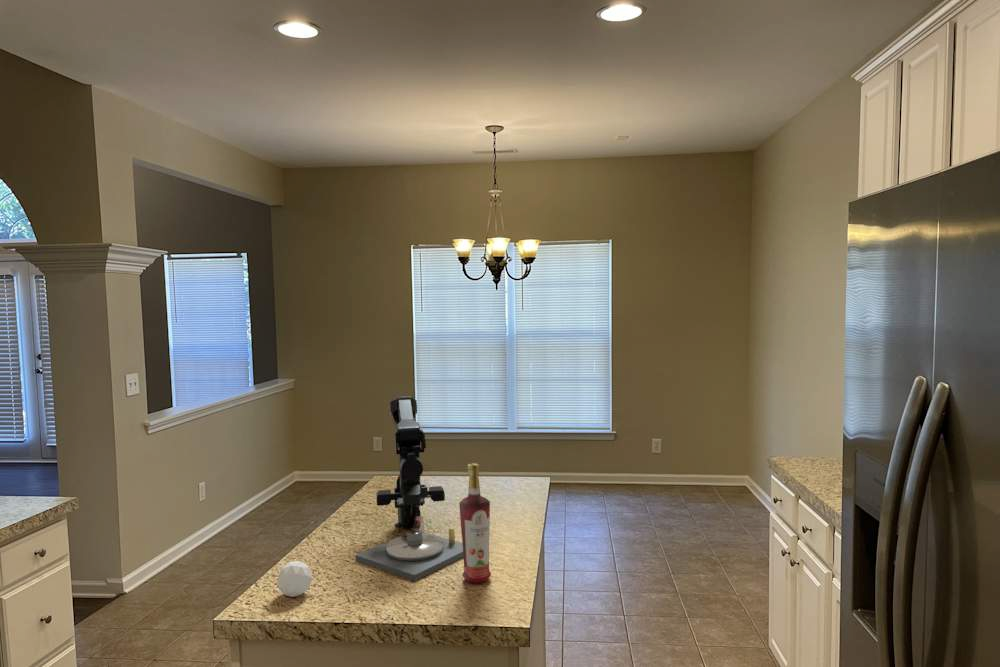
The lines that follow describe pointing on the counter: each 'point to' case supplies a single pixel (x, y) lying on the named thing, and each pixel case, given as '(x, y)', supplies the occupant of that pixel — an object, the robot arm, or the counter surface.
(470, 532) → the liquor
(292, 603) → the counter surface
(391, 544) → the grey disc with handle
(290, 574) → the ball
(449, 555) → the post plate
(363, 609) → the counter surface
